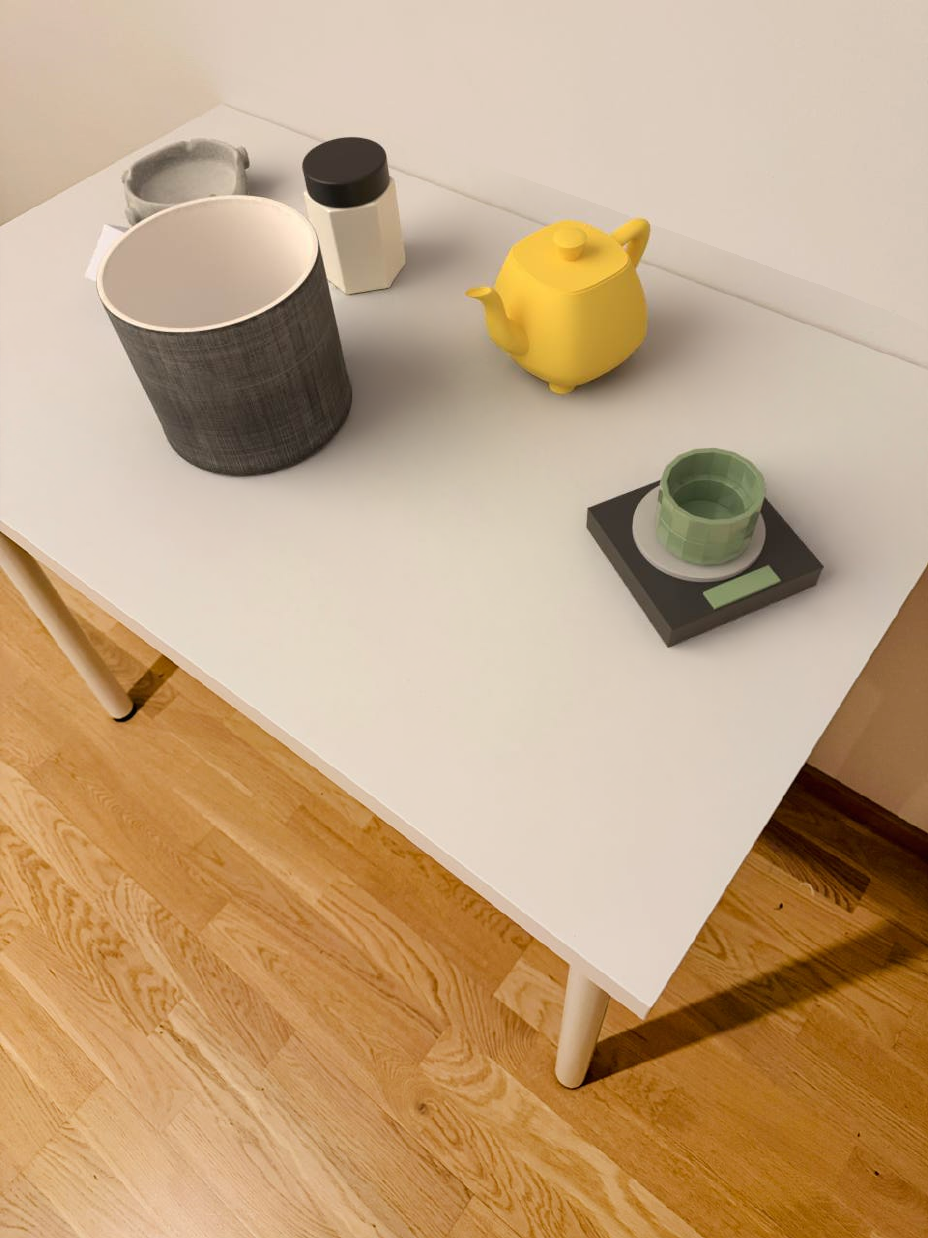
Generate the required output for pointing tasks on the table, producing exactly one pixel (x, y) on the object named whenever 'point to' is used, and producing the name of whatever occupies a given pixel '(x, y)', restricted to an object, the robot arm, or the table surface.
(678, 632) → the scale
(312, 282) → the planter
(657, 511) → the green cup
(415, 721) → the table surface
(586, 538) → the table surface
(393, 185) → the jar
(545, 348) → the teapot
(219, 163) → the dish
